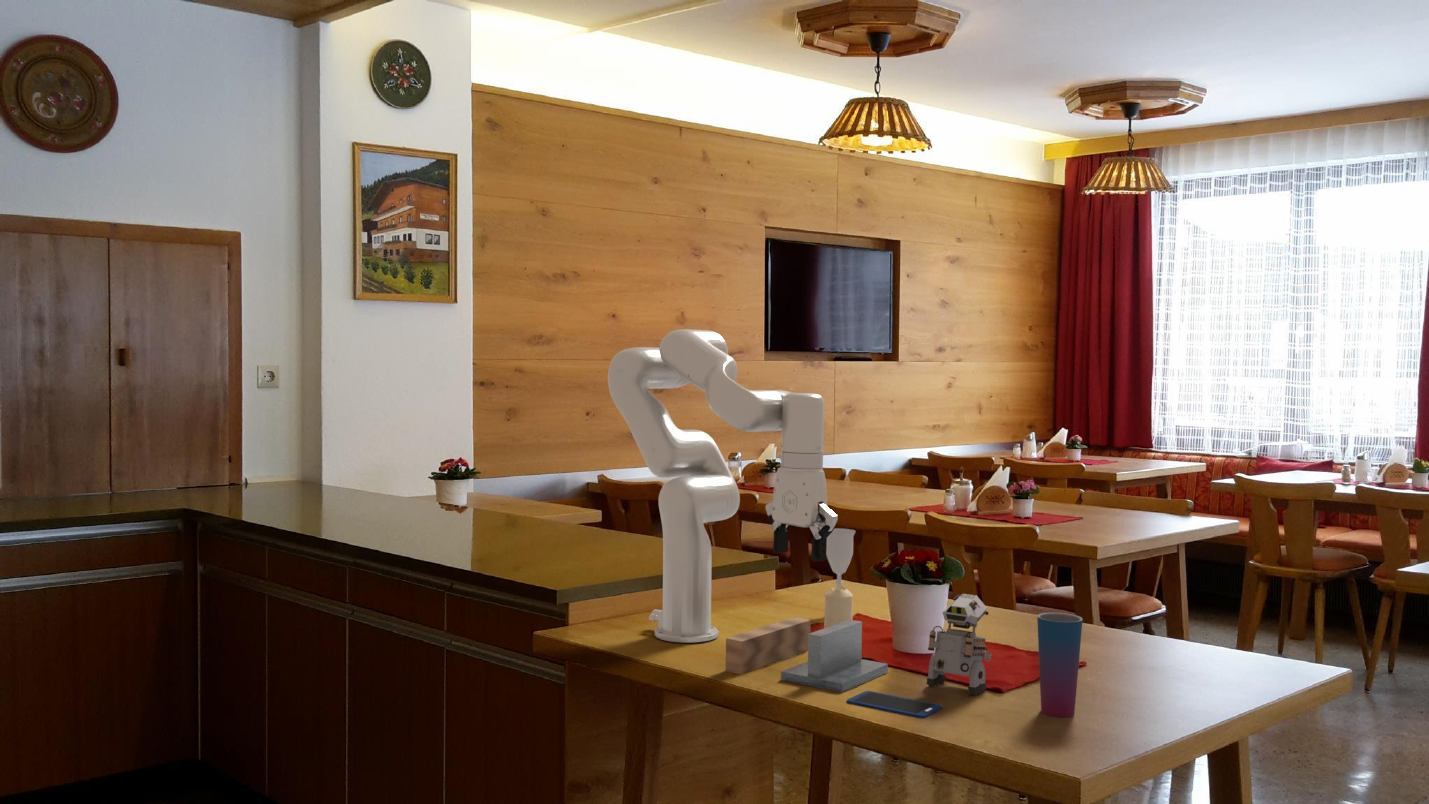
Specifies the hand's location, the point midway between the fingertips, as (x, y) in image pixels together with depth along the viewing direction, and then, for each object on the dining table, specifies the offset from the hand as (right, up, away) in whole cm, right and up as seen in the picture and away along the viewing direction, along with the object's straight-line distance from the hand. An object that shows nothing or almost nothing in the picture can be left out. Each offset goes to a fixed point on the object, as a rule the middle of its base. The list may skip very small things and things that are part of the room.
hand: (799, 556), depth 210 cm
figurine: (+26, -20, -13) cm, 36 cm away
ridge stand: (+6, -20, -8) cm, 22 cm away
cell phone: (+13, -21, -24) cm, 35 cm away
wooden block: (-5, -20, +3) cm, 20 cm away
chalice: (+12, -18, +43) cm, 48 cm away
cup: (+39, -21, -27) cm, 52 cm away
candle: (+9, -19, +21) cm, 30 cm away
